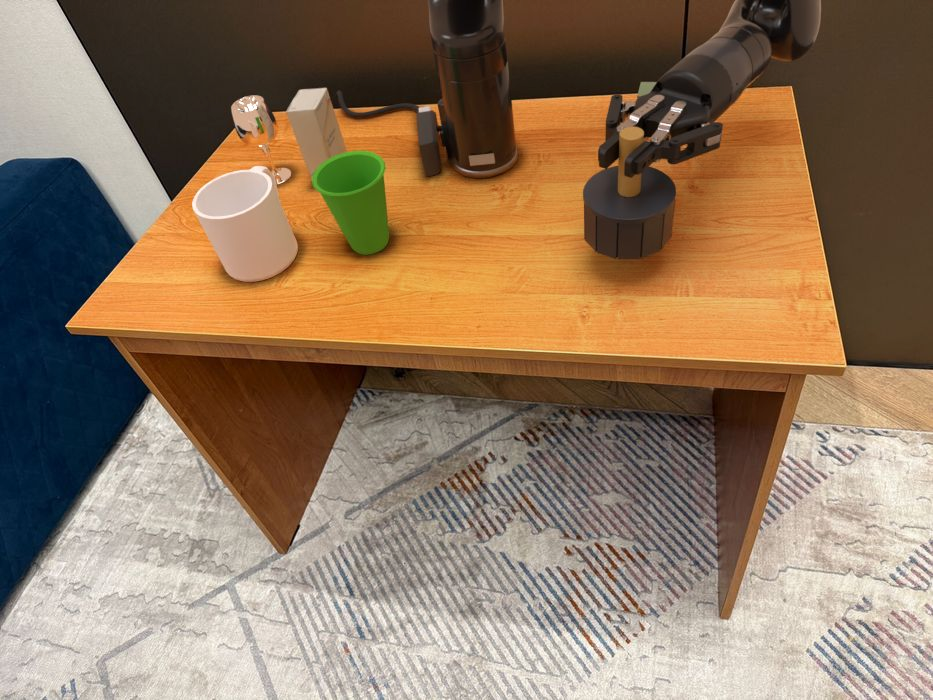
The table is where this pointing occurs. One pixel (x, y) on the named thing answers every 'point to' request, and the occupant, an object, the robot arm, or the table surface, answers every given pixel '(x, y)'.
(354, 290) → the table surface
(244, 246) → the mug
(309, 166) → the cosmetic box
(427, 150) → the usb drive
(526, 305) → the table surface
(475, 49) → the robot arm
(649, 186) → the gray cylinder with peg
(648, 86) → the block
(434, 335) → the table surface
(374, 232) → the cup
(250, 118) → the wineglass
